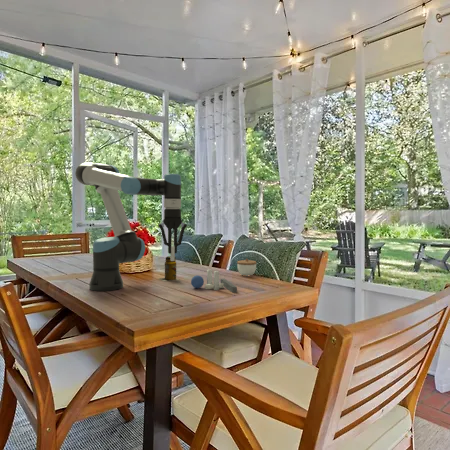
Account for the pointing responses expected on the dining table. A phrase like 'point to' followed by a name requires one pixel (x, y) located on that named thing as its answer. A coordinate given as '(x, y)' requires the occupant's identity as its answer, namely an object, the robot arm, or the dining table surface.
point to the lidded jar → (246, 267)
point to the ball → (197, 281)
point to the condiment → (170, 270)
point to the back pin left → (209, 276)
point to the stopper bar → (229, 286)
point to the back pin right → (216, 280)
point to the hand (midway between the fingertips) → (172, 260)
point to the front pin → (211, 286)
